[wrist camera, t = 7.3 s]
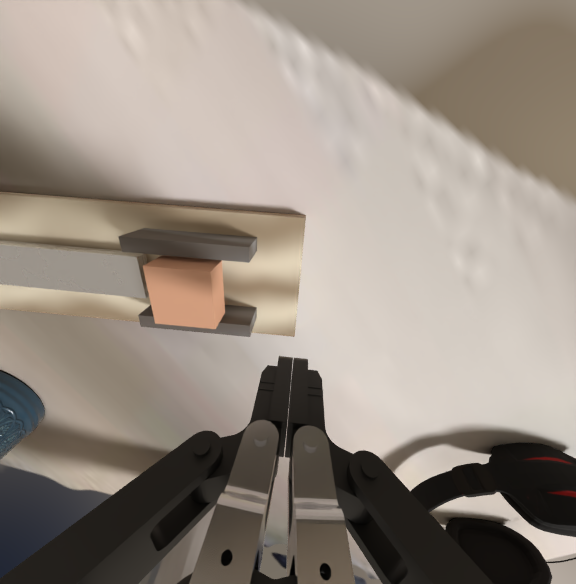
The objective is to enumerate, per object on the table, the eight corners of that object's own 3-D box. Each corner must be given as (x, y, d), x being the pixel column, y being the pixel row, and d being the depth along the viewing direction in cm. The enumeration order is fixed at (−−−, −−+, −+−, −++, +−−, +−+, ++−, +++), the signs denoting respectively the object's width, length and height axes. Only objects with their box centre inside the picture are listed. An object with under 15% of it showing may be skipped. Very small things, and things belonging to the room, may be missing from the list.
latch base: (294, 328, 26) (292, 357, 22) (-25, 298, 27) (-85, 320, 23) (305, 215, 21) (305, 225, 17) (-92, 184, 22) (-186, 186, 18)
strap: (154, 292, 23) (145, 298, 22) (-45, 273, 24) (-64, 278, 23) (146, 252, 21) (135, 257, 20) (-69, 233, 22) (-91, 237, 21)
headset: (585, 520, 40) (655, 606, 32) (423, 540, 46) (447, 615, 38) (583, 416, 29) (684, 503, 22) (375, 461, 36) (394, 540, 28)
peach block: (225, 312, 22) (215, 329, 19) (171, 307, 22) (155, 323, 19) (221, 260, 19) (210, 271, 17) (162, 255, 20) (142, 265, 17)
